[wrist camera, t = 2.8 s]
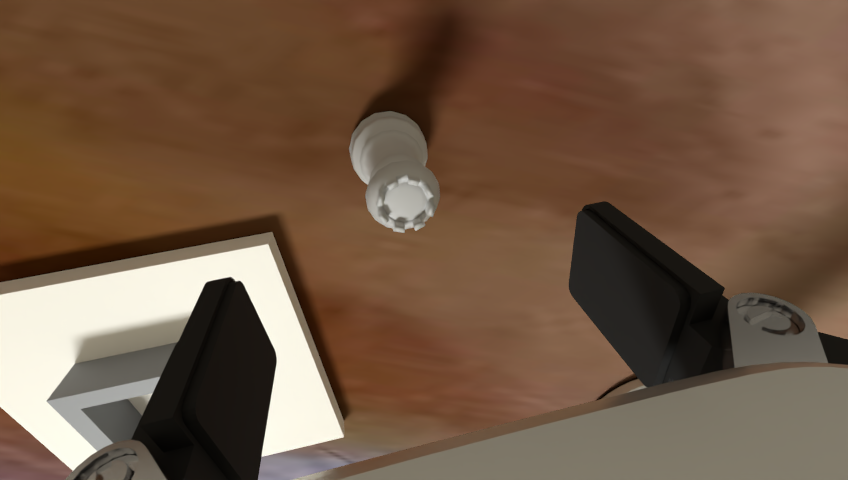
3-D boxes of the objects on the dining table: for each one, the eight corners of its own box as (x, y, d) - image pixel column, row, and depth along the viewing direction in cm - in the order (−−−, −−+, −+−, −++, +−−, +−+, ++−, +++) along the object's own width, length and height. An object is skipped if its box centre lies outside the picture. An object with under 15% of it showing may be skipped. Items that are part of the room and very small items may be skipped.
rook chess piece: (365, 193, 24) (374, 265, 17) (336, 124, 21) (333, 176, 15) (433, 169, 24) (469, 231, 17) (412, 97, 21) (443, 137, 15)
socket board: (272, 231, 24) (259, 271, 20) (344, 421, 34) (344, 469, 31) (-79, 297, 22) (-162, 353, 18) (110, 476, 33) (81, 534, 29)
